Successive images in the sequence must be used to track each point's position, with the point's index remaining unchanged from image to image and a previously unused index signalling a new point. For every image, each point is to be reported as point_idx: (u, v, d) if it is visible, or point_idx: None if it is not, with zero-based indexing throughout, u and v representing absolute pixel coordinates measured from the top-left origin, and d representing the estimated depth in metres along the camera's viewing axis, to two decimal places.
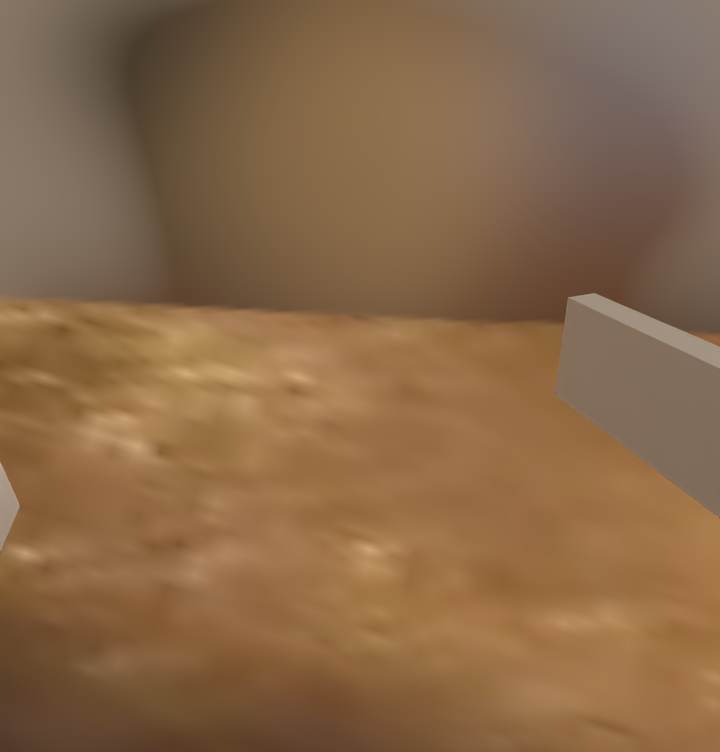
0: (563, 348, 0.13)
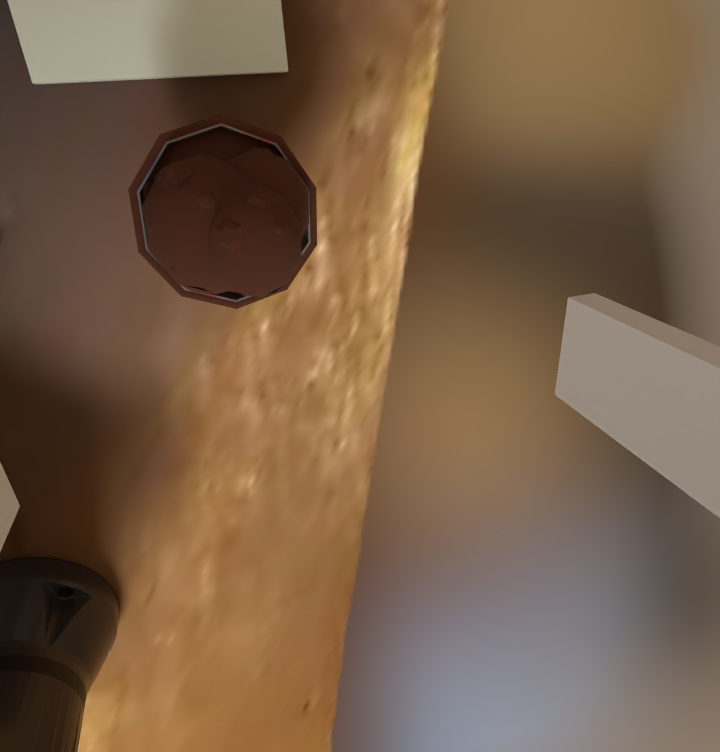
0: (562, 348, 0.13)
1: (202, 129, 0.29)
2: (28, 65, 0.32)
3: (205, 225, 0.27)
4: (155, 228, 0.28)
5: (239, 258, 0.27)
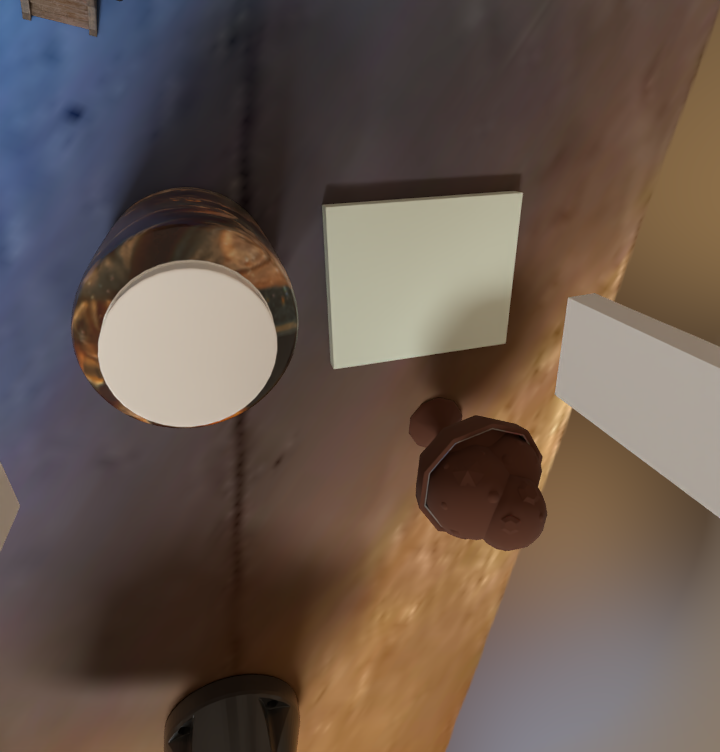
0: (563, 348, 0.13)
1: (479, 432, 0.40)
2: (334, 358, 0.43)
3: (490, 514, 0.38)
4: (451, 510, 0.39)
5: (515, 539, 0.38)
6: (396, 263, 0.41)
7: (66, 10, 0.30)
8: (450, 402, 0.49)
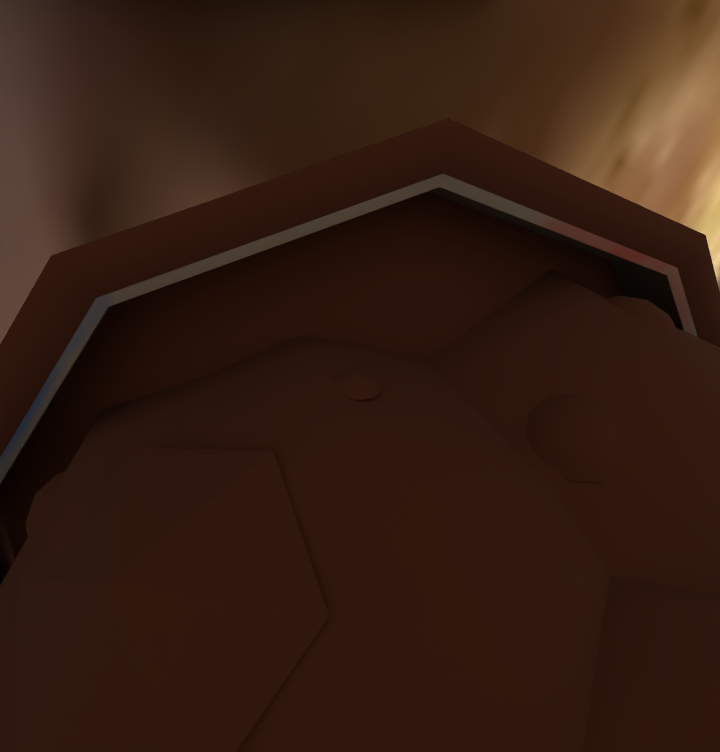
0: None
1: (327, 213, 0.05)
2: None
3: None
4: None
5: None
6: None
7: None
8: None
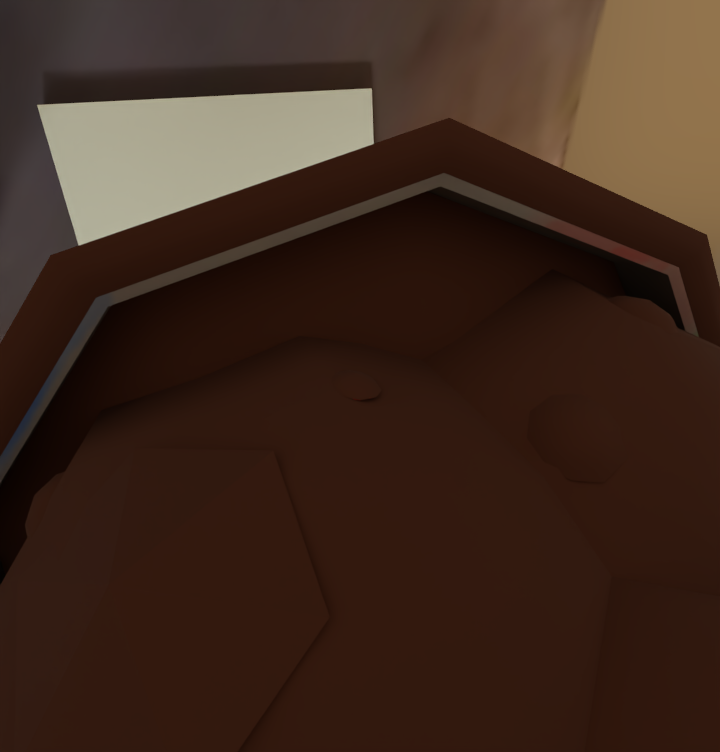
0: None
1: (328, 213, 0.05)
2: None
3: None
4: None
5: None
6: (181, 199, 0.27)
7: None
8: None
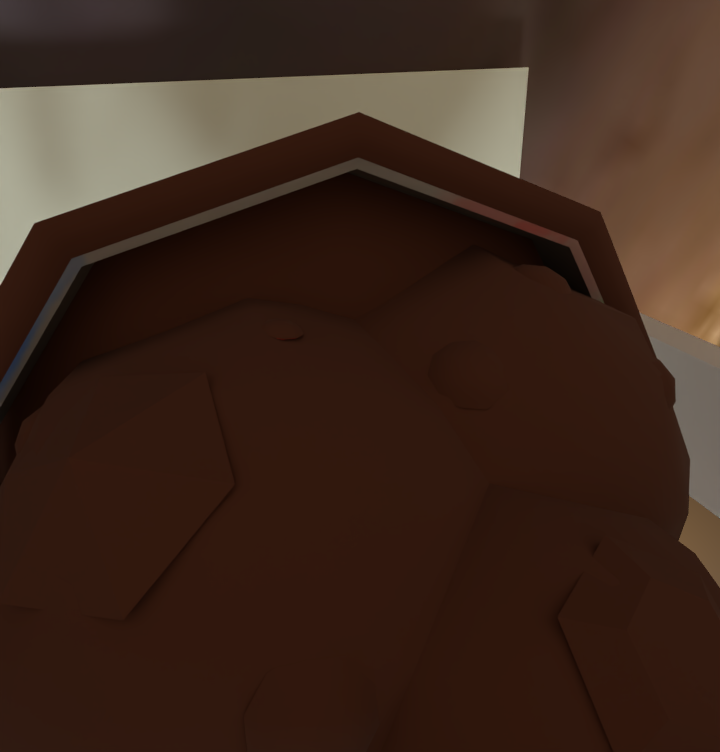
0: None
1: (262, 190, 0.06)
2: None
3: None
4: None
5: None
6: None
7: None
8: None
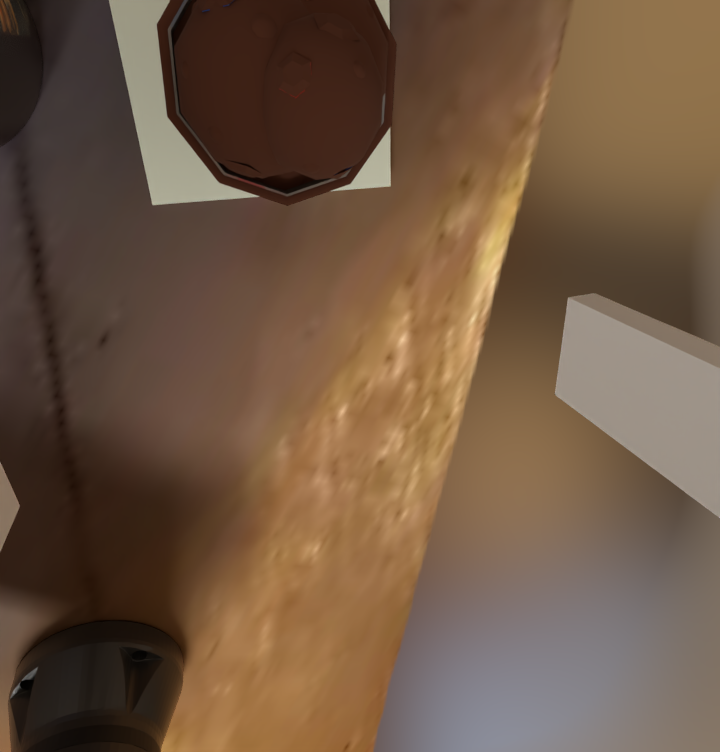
0: (563, 348, 0.13)
1: None
2: (150, 189, 0.33)
3: (261, 63, 0.20)
4: (193, 69, 0.21)
5: (306, 108, 0.20)
6: None
7: None
8: None
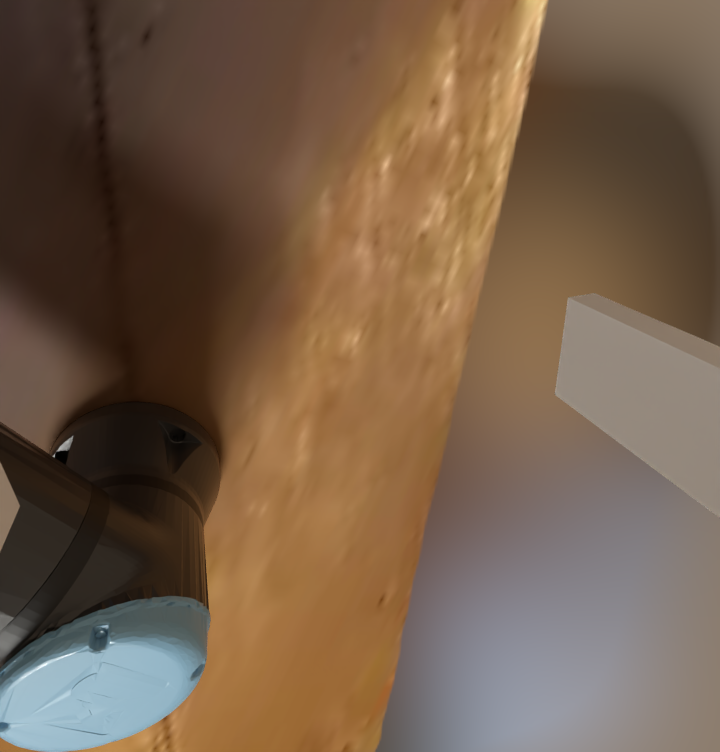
0: (563, 348, 0.13)
1: None
2: None
3: None
4: None
5: None
6: None
7: None
8: None
